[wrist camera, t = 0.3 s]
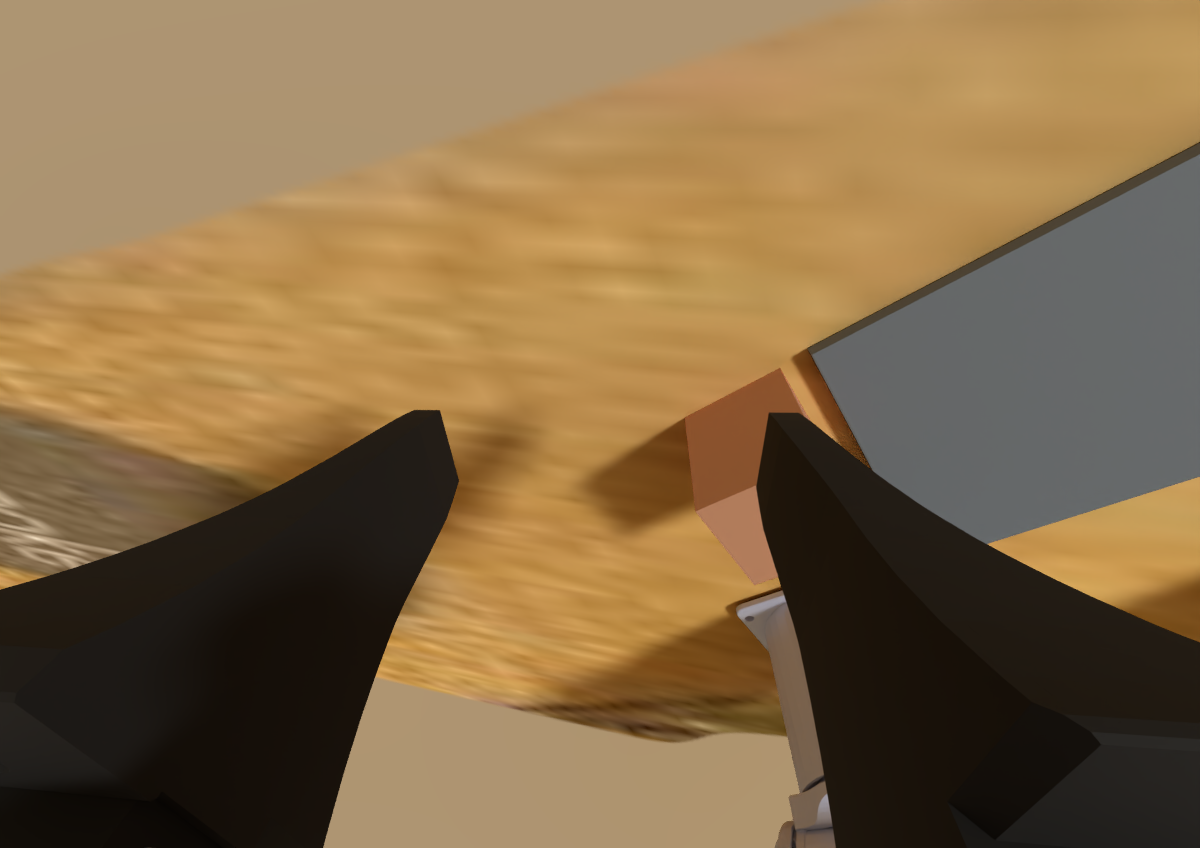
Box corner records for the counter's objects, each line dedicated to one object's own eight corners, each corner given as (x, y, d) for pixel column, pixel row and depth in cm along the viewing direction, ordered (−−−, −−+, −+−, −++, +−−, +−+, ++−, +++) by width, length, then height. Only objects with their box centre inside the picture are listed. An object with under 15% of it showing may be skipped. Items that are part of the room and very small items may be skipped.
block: (822, 442, 22) (875, 543, 17) (731, 482, 23) (754, 584, 18) (780, 367, 20) (824, 456, 15) (684, 417, 21) (695, 511, 16)
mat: (1282, 436, 19) (1299, 445, 19) (917, 554, 25) (922, 564, 24) (1282, 99, 14) (1306, 99, 13) (807, 348, 19) (811, 355, 19)
